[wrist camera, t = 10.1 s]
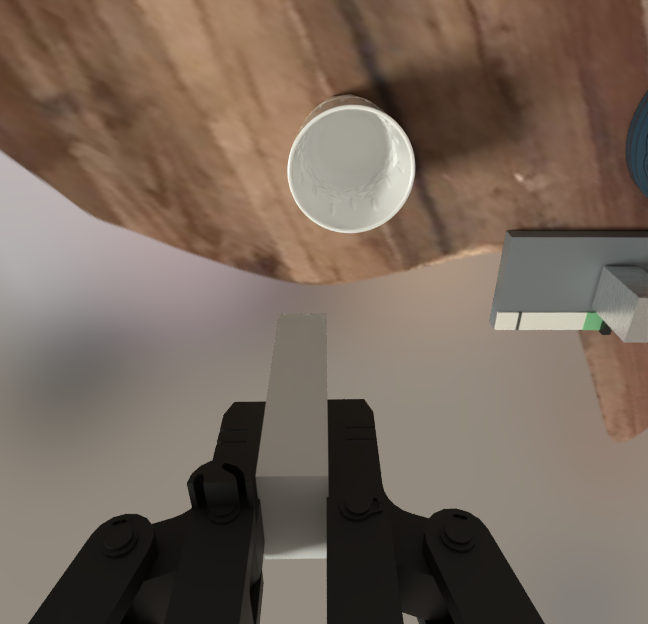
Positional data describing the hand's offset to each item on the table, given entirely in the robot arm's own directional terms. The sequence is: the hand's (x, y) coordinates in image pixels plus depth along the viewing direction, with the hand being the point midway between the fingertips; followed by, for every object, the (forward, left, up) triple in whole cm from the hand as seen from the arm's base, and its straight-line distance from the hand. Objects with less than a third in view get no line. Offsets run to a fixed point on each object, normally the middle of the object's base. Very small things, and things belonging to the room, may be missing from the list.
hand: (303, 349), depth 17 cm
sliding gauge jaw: (+12, +26, -26) cm, 39 cm away
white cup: (-1, +2, -28) cm, 28 cm away
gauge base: (+11, +25, -28) cm, 39 cm away
